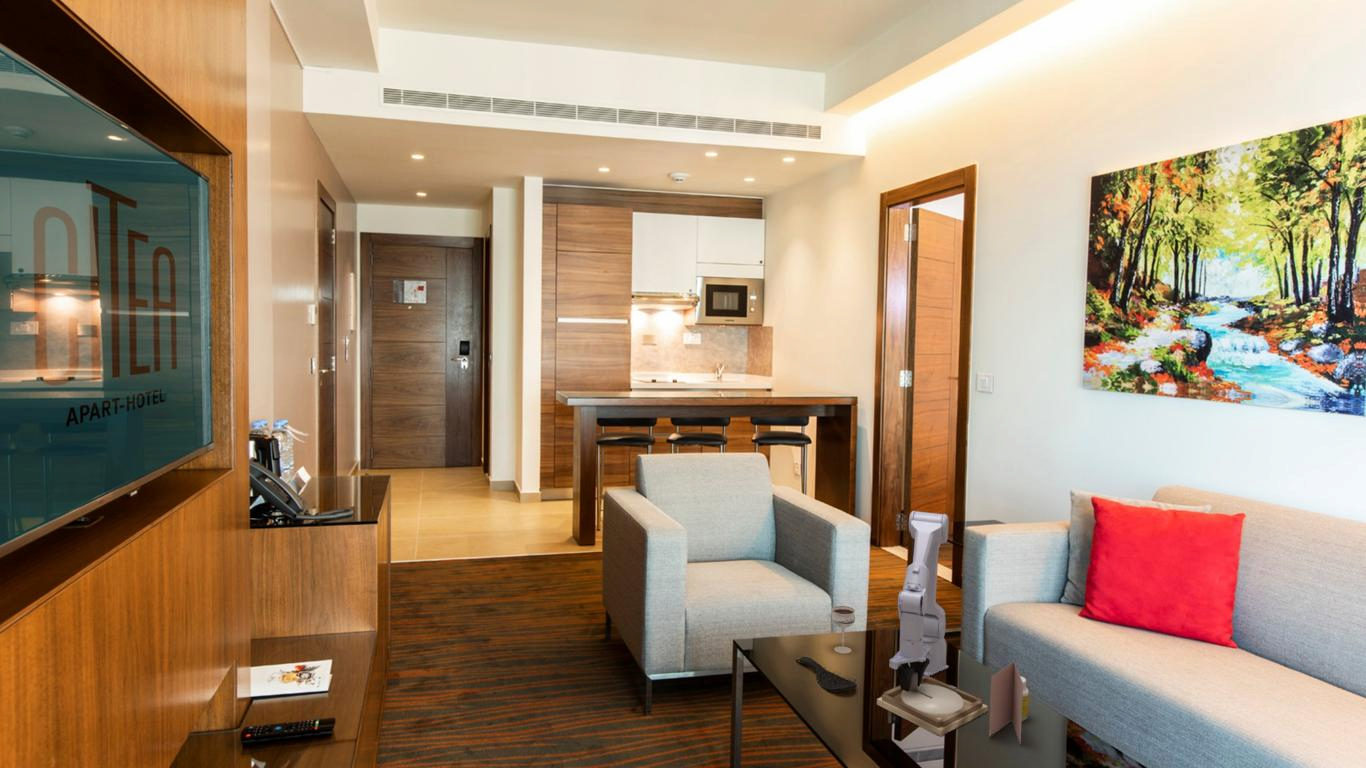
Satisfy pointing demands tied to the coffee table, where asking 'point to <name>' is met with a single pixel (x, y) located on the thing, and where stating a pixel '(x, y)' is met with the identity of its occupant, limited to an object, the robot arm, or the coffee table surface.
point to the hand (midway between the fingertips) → (910, 687)
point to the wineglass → (843, 623)
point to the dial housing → (934, 724)
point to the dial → (931, 698)
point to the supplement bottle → (1025, 699)
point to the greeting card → (1006, 699)
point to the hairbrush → (829, 677)
